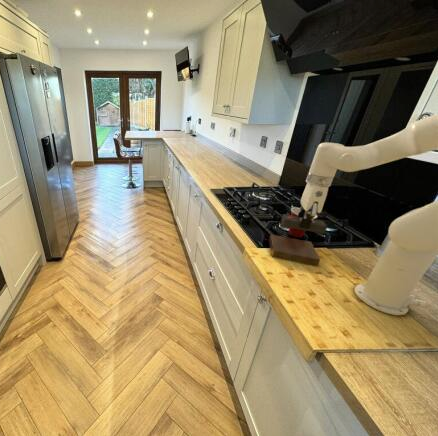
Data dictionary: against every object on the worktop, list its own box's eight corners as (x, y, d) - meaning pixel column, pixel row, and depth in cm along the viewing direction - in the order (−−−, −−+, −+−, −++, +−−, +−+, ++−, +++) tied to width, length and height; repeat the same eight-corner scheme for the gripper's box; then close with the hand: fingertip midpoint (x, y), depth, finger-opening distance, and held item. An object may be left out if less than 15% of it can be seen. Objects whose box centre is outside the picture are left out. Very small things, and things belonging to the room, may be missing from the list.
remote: (320, 227, 92) (323, 220, 90) (324, 233, 87) (327, 226, 86) (280, 221, 96) (283, 214, 94) (282, 226, 91) (285, 219, 90)
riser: (308, 247, 102) (311, 241, 101) (317, 266, 90) (320, 259, 89) (268, 240, 107) (270, 234, 105) (272, 256, 95) (274, 250, 93)
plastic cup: (312, 242, 106) (321, 218, 101) (285, 237, 109) (293, 214, 104) (305, 231, 115) (314, 209, 110) (281, 227, 118) (288, 205, 113)
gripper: (340, 188, 75) (319, 237, 83) (324, 174, 89) (307, 217, 97) (313, 184, 77) (295, 232, 85) (301, 172, 91) (287, 214, 99)
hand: (302, 224), depth 91 cm, fingers closed on remote, 5 cm apart
